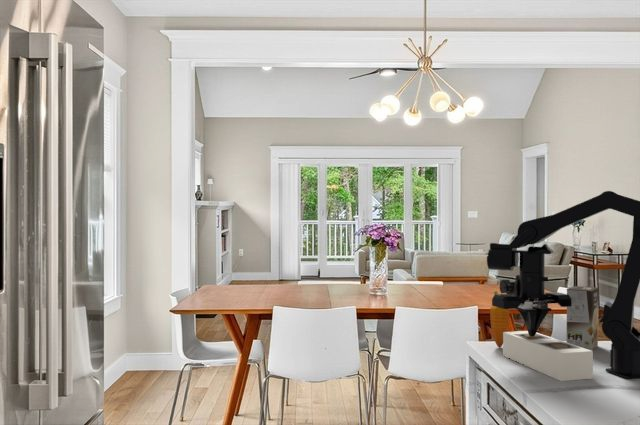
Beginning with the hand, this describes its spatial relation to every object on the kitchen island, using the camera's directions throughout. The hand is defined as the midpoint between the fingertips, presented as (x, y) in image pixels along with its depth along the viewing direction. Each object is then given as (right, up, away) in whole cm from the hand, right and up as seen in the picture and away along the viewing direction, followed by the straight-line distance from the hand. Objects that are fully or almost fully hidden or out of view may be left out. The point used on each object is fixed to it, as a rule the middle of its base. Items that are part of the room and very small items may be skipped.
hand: (531, 335), depth 135 cm
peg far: (0, -6, 0) cm, 6 cm away
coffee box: (+19, -7, +14) cm, 25 cm away
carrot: (-3, -6, +14) cm, 15 cm away
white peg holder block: (+1, -6, -5) cm, 8 cm away
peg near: (+2, -6, -10) cm, 12 cm away
